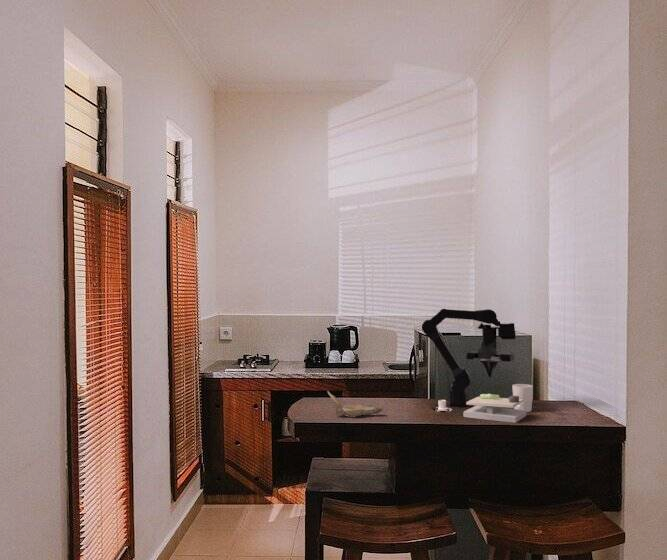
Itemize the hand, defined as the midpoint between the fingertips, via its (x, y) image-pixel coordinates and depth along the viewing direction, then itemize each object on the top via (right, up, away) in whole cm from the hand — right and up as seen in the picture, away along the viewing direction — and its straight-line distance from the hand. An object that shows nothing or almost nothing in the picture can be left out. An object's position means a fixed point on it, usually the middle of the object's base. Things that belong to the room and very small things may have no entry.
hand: (490, 377), depth 256 cm
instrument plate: (-3, -7, -19) cm, 21 cm away
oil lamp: (-57, -13, -15) cm, 60 cm away
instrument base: (-3, -12, -19) cm, 23 cm away
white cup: (+11, -12, -9) cm, 19 cm away
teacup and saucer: (-24, -13, -7) cm, 28 cm away
